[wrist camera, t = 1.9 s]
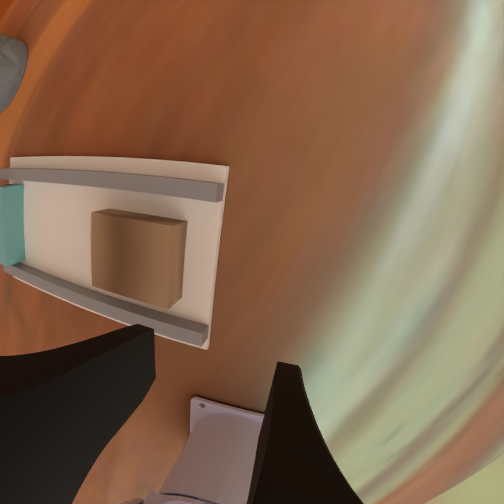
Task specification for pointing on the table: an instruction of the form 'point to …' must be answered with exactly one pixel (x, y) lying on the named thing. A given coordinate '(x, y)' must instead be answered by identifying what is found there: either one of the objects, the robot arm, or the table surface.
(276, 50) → the table surface
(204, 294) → the track
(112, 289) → the block
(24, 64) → the grey tapered pot
